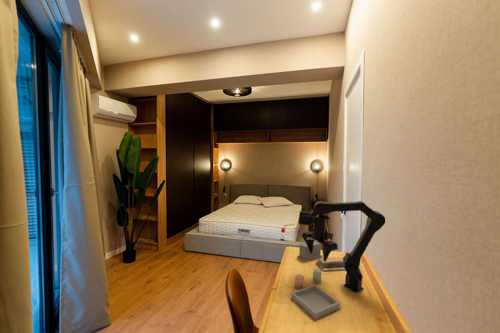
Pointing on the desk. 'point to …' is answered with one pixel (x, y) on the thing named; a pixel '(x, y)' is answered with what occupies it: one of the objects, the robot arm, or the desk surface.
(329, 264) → the packaged product
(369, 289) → the desk surface
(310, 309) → the tray
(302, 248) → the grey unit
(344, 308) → the desk surface
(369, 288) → the desk surface
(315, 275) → the sage part
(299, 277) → the terracotta part
